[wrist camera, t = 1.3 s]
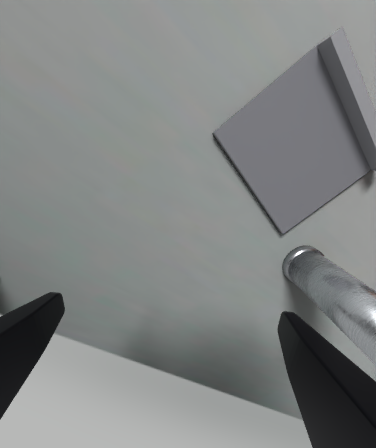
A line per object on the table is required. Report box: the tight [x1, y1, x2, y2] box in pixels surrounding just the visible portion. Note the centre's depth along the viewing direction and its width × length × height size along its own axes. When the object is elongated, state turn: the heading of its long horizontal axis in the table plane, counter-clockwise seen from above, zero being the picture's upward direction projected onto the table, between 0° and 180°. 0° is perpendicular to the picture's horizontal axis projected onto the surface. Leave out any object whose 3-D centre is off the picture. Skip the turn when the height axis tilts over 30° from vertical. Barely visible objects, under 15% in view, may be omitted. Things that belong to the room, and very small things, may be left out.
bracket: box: [213, 26, 376, 234], centre depth 18 cm, size 11×12×2 cm
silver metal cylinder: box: [283, 246, 376, 365], centre depth 18 cm, size 4×4×12 cm
